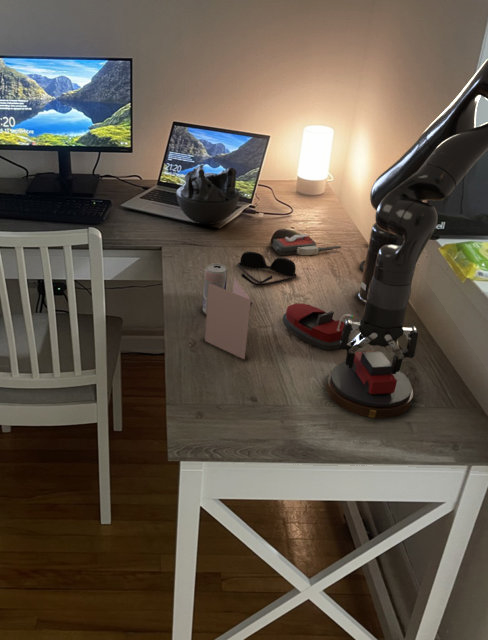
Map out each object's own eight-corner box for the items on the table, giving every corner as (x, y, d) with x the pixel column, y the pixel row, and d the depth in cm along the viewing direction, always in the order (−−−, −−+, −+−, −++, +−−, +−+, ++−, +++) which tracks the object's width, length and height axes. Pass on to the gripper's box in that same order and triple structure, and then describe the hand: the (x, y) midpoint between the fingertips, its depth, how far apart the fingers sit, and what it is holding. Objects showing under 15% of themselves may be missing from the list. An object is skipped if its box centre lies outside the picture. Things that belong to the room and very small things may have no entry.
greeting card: (248, 359, 152) (254, 299, 144) (216, 362, 150) (221, 302, 143) (232, 333, 161) (237, 276, 153) (202, 336, 160) (206, 278, 152)
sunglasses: (222, 284, 183) (224, 267, 181) (239, 264, 195) (241, 248, 192) (283, 297, 177) (286, 280, 175) (297, 275, 189) (299, 259, 186)
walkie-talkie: (279, 259, 198) (341, 253, 202) (281, 245, 196) (344, 239, 200) (267, 247, 205) (327, 241, 210) (269, 233, 203) (329, 228, 207)
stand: (325, 365, 150) (326, 358, 149) (405, 375, 147) (407, 367, 146) (327, 412, 135) (329, 404, 134) (416, 424, 132) (419, 416, 131)
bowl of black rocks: (163, 223, 220) (165, 166, 211) (197, 207, 234) (200, 152, 224) (215, 239, 210) (219, 179, 200) (248, 220, 224) (253, 164, 214)
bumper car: (303, 312, 171) (308, 276, 165) (363, 348, 156) (371, 310, 151) (273, 322, 166) (278, 285, 161) (332, 360, 152) (340, 321, 147)
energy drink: (225, 307, 172) (229, 264, 166) (221, 317, 168) (225, 273, 161) (204, 305, 173) (207, 261, 167) (200, 314, 169) (203, 270, 163)
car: (424, 404, 134) (432, 378, 131) (346, 409, 133) (352, 382, 129) (391, 360, 148) (397, 335, 144) (320, 364, 146) (324, 338, 143)
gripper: (350, 303, 128) (336, 374, 137) (429, 312, 126) (410, 384, 134) (348, 286, 134) (335, 355, 143) (423, 294, 132) (405, 363, 140)
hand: (371, 369), depth 138 cm, fingers open, 8 cm apart
